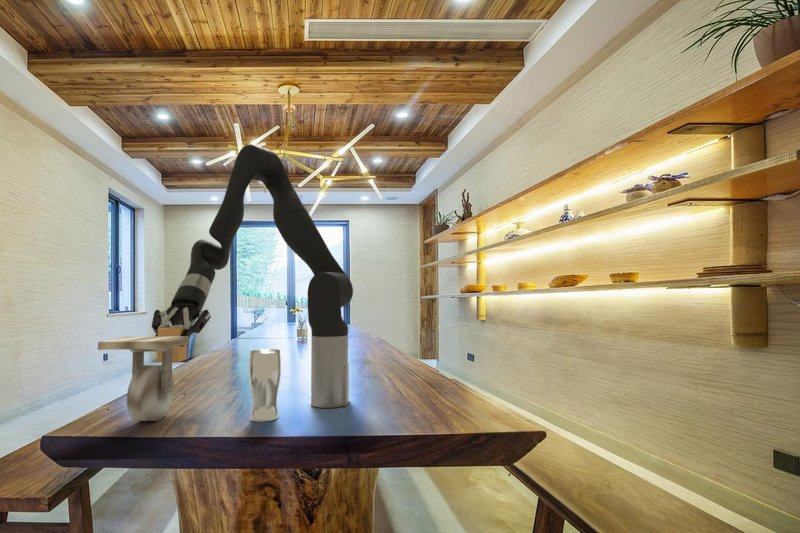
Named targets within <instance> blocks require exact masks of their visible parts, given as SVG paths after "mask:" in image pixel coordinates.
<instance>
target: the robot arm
mask: <svg viewBox="0 0 800 533" xmlns="http://www.w3.org/2000/svg"><path fill="white" fill-rule="evenodd" d="M253 180H254V181H259V182H261V183H263V185H264V186H265V187H266V189H267V190H268V192H269V194H270V195H271V198H272V200H273V207H272V208H273V209H272V215H273V222H274V224H275V227H276V228H277V230H278V232H279V234H280V236H281V238H282V239H283V241H284V242H285V244H286V245H287V246H288V247H289V248H290V250H292V251H293V252H294V253H295V254H296V255H297V256H298V257H299V258H300V259H301V260H302V261H303V262H304V263H305V264H306V265H307V267H308V268H309V269H310V271H311V273H312V274H313V277H312V278H311V279H310V281H309V283H308V287H307V319H308V324H309V327H310V330H311V345H310V346H311V350H310V351H311V359H310V360H311V362H310V364H311V366H310V367H311V368H310V369H311V370H310V371H311V372H310V374H311V375H310V378H311V379H310V382H311V383H310V405H311V406H312V407H314V408H315V407H316V408H323V409H331V408H332V409H333V408H339V407H347V406H348V403H349V402H350V399H349V398H350V386H349V385H350V363H349V325H348V323H347V322H346V321H345V320H344V319H343V316H342V307H345V306H348V304H349V303H350V302H351V301H352V299H353V295H354V287H353V284H352V282H351V279H350V277H348V275H347V274H346V272H345V271H344V270H343V268H342V267H341V266H340V264H339V263H338V261H337V259H335V257H334V255H333V254H332V252H331V251H330V250H329V247H328V245H327V244H326V242H325V240H324V239H323V236H322V235H321V233H320V231H319V230H318V227H317V225H316V223H315V222H314V220H313V219H312V217H311V215H310V213H309V212H308V210H307V209H306V207H305V205H304V203H303V202H302V200H301V198H300V196H299V195H298V193H297V192H296V190H295V188H294V186H293V184H292V182H291V180H290V178H289V176H288V173H287V171H286V169H285V167H284V163H283V162H282V160H281V158H280V157H279V155H278V153H276V152H275V151H272V150H271V149H268V148H266V147H262V146H260V145H255V144H247V145H244V146H243V147H242V148H241V149H240V150H239V152H238V154H237V156H236V158H235V161H234V163H233V167H232V170H231V174H230V176H229V180H228V184H227V186H226V191H225V194H224V195H223V196H224V197H223V200H222V202H221V205H220V207H219V209H218V211H217V213H216V215H215V217H214V219H213V221H212V223H211V225H210V227H209V230H208V233H209V235H210V236H211V237H212V239H214V241H216V242H218V243H219V244H220V245H219V244H217V243H214V242H212V241H211V240H210V241H209V240H207V239H204V238H203V239H202V238H201V239H199V240H197V241H195V242H194V244H193V245H192V247H191V252H190V264H189V268H188V270H187V273H186V274H185V277H184V278H183V279H182V281H181V283H180V284H179V286H178V289H177V291H176V292H175V294H174V296H173V298H172V300H171V304H170V305H169V307H168V308H167V309H166V310H165V311H160V310H159V309H155V310H154V313H153V317H152V323H151V328H152V329H153V332H154V333H155V336H154V337H158V329H160V328H165V327H177V326H184V327H185V330H183V331H182V334H181V336H189V339H190V337H191V335H193V334H199V333H201V332H202V331H203V329H204V327H206V325H207V323H208V322H209V321H210V319H211V314H210V312H209V310H208V309H204V310H203V308H204V306H205V303H206V300H207V299H208V297H209V293H210V290H211V286H212V285H213V282H214V280H215V277H216V271H219V270H223V269H224V268H226V266H227V265H228V263H229V259H230V253H231V247H232V243H233V240H234V239H235V236H236V234H237V232H238V231H239V229H240V227H241V226H242V222H243V220H244V216H245V194H246V190H247V189H248V187H249V185H250V183H251V182H252V181H253ZM194 321H195V322H194ZM193 322H194V323H193ZM184 345H185V344H184ZM184 345H181V346H180V347H184Z"/></svg>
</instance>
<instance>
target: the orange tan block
mask: <svg viewBox="0 0 800 533" xmlns="http://www.w3.org/2000/svg"><path fill="white" fill-rule="evenodd" d="M183 330H185V326H175V327H165V328H160V329H158V337H162V336H181V334H182V331H183ZM156 352H157V353H156V354H157V355H156V356H157V357H156V360H157V361H156V362H157V363H162V351H156ZM187 359H188V344H185V345H184V347H180V346H177V347H175V348H174V349H173V353H172V363H180V362H183V361H186V360H187Z"/></svg>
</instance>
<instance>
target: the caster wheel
mask: <svg viewBox="0 0 800 533" xmlns="http://www.w3.org/2000/svg"><path fill="white" fill-rule="evenodd" d="M184 344H187V345H188V344H190V338H189V336H162V337H155V336H124V337H123V336H122V337H118V338H114V339H108V340H106V339H105V340H102V341H98V342H97V350H99V351H101V350H102V351H103V350H106V351H109V350H110V351H111V350H115V351H116V350H117V351H118V350H129V352H131V353H132V364H131V366H132V368H131V369H132V371H131V373H132V374H131V379H130V381H129V384H128V387H127V393H126V407H127V411H128V414H129V416H130V418H131V419H132V420H133V421H135V422H155V421H156V422H158V421H160V420H162V419H163V418H165V416H166V415H167V413H168V411H169V409H170V408H171V405H172V403H173V398H174V392H175V391H174V390H175V380H174V379H175V378H174V374H173V362H172V353H173V349H174V348H175V347H177V346H181V345H184ZM157 351H162V362H161V364H144V362H145V352H152V353H153V352H157Z"/></svg>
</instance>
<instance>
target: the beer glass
mask: <svg viewBox="0 0 800 533" xmlns="http://www.w3.org/2000/svg"><path fill="white" fill-rule="evenodd" d="M281 359H282V358H281V350H280V349H275V348H266V349H265V348H262V349H253V350H251V351H249V359H248V360H249V361H248V362H249V363H248V382H249V388H250V394H251V402H252V403H251V412H250V416H249V420H250V421H251V422H253V421H255V422H254V423H266V422H265V421H269V422H271V421H272V420H273V421H275V419H276V420H278V418H279V410H278V403H277V402H278V393H279V388H280V383H281V376H282V360H281ZM273 421H272V422H273Z"/></svg>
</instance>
